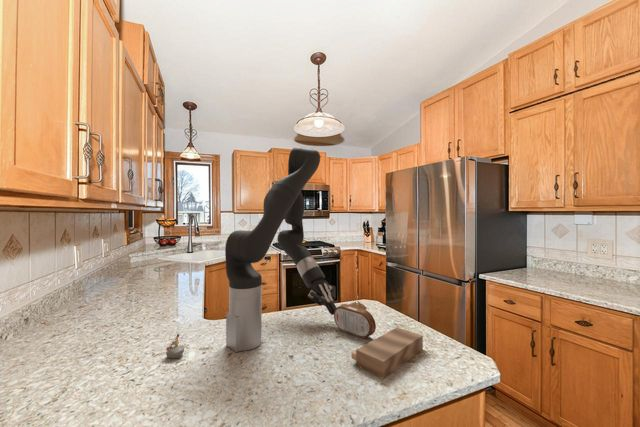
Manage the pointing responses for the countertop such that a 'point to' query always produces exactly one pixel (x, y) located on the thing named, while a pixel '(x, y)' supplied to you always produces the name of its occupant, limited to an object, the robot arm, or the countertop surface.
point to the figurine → (175, 349)
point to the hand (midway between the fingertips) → (334, 313)
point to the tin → (354, 320)
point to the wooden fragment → (358, 305)
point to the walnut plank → (388, 352)
